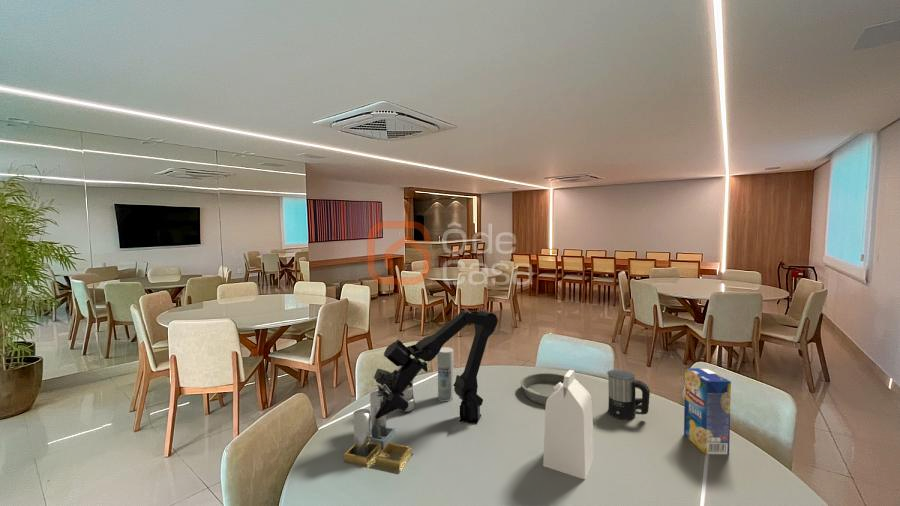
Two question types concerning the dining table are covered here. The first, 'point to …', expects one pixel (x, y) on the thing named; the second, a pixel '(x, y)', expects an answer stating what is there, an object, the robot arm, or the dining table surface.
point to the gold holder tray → (381, 457)
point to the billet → (375, 403)
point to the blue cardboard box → (707, 410)
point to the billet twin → (362, 432)
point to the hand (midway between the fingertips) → (374, 414)
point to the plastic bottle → (409, 397)
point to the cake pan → (541, 385)
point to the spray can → (445, 374)
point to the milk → (569, 428)
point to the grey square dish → (390, 435)
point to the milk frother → (626, 395)
